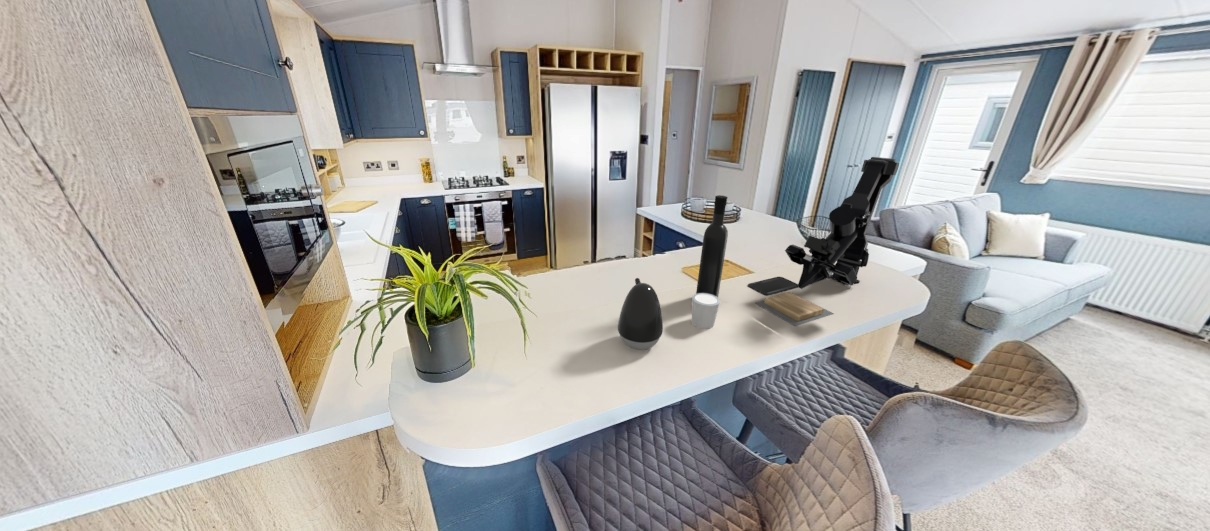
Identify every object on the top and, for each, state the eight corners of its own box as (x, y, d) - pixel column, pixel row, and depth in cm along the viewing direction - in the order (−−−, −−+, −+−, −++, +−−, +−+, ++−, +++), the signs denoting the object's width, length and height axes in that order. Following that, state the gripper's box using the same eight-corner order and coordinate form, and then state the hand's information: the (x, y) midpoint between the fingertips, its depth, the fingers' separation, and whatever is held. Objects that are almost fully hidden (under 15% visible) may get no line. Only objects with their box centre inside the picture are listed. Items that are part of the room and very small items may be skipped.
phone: (800, 285, 119) (766, 294, 113) (800, 288, 120) (765, 297, 113) (779, 275, 126) (746, 283, 119) (779, 279, 126) (745, 287, 120)
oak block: (789, 292, 112) (765, 298, 108) (824, 308, 103) (798, 316, 99) (788, 296, 113) (764, 303, 109) (822, 313, 104) (797, 321, 100)
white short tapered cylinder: (683, 322, 98) (686, 298, 96) (697, 313, 103) (700, 290, 100) (708, 333, 94) (711, 308, 91) (721, 323, 99) (725, 298, 96)
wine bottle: (694, 302, 109) (708, 197, 97) (698, 294, 114) (712, 193, 102) (714, 307, 107) (731, 199, 95) (718, 298, 111) (734, 195, 100)
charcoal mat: (791, 293, 115) (792, 293, 115) (834, 314, 104) (834, 313, 104) (754, 303, 109) (754, 302, 109) (794, 327, 98) (795, 326, 98)
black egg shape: (653, 329, 95) (658, 273, 89) (667, 354, 86) (673, 293, 80) (613, 332, 93) (615, 275, 87) (622, 358, 84) (625, 296, 78)
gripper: (796, 216, 108) (761, 259, 107) (863, 236, 92) (822, 285, 92) (809, 240, 114) (775, 280, 114) (873, 262, 99) (834, 308, 98)
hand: (799, 287), depth 104 cm, fingers closed
